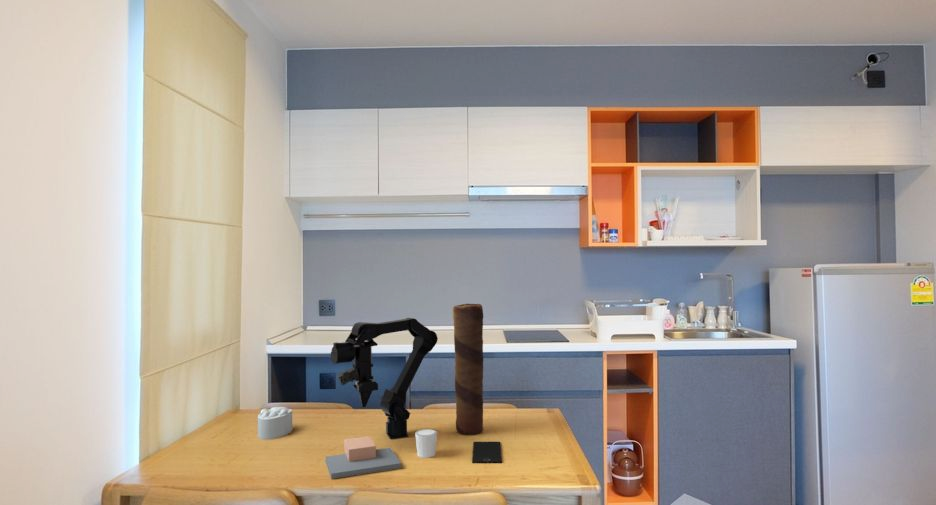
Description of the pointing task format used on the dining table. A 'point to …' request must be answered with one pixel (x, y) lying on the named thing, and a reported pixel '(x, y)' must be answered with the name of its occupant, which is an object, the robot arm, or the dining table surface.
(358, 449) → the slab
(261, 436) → the lumpy-topped squat cylinder
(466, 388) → the wafer roll
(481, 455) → the cell phone
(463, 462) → the dining table surface
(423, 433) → the shot glass
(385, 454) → the mat
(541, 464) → the dining table surface
